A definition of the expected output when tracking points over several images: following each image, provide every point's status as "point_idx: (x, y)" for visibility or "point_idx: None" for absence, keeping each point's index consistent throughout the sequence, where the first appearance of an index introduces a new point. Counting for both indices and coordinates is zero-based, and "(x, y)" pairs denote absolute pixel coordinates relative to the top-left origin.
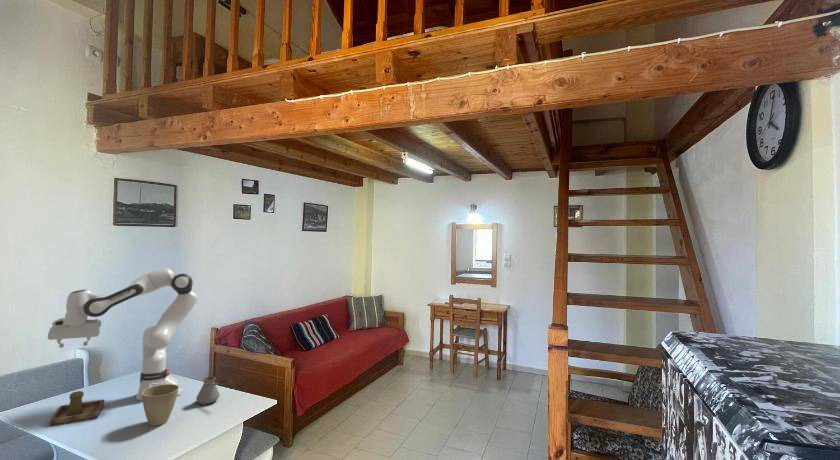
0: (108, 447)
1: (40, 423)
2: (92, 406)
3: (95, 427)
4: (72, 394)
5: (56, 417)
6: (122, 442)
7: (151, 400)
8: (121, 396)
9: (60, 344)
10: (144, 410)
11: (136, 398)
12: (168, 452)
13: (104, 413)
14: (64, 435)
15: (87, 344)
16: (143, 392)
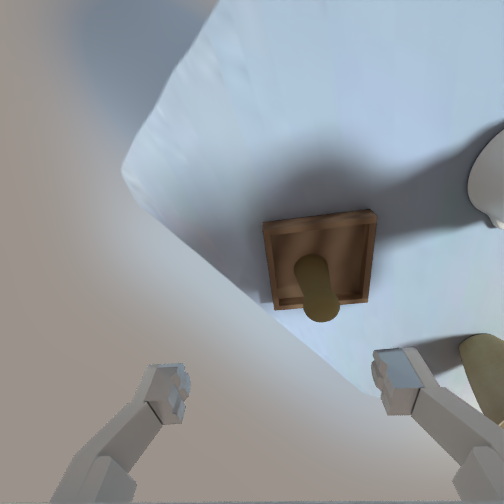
0: None
1: (247, 279)
2: (343, 227)
3: (363, 329)
4: (313, 320)
5: (276, 279)
6: None
7: None
8: (425, 135)
9: (158, 424)
10: (470, 383)
11: (469, 190)
12: None
13: (375, 268)
14: (315, 341)
15: (415, 350)
16: (501, 420)
